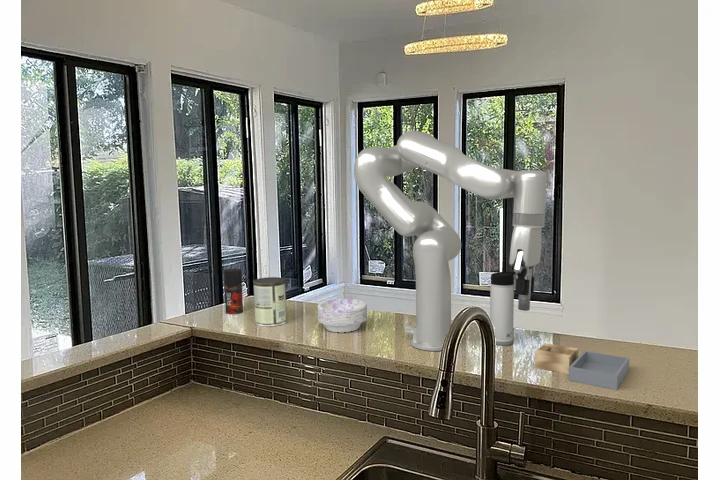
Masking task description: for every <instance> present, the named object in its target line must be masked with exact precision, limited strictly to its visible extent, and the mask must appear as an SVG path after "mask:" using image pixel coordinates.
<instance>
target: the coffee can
mask: <svg viewBox="0 0 720 480" xmlns="http://www.w3.org/2000/svg"><path fill="white" fill-rule="evenodd" d="M252 282H253V283H252V284H253V295H254V296H253V297H254V298H253V300H254V319H255V320H254V321H255V326H258V327H263V328H264V327H265V328H266V327H267V328H270V326H273V327H278V326H283V325H285V324H286V323H288V320H287V316H288V315H287V301H286V299H287V296H286V295H287V292H286V282H287V279H286V278H284V277H279V276H278V277H277V276H276V277H275V276H272V277H271V276H269V277H260V278H256V279H254V280H252Z"/></svg>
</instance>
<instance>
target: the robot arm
mask: <svg viewBox="0 0 720 480" xmlns="http://www.w3.org/2000/svg"><path fill="white" fill-rule="evenodd" d="M416 168H421V169H423V170H425V171H428V172H429V173H432V174H435V175H437V176H439V177H441V178H442V179H443V178H444V180H446V181H448V182H449V183H452V184H454V185H455V186H457V187H459V188H461V189H463V190H464V191H468V192H470V193H472V194H473V195H474V194H475V195H476V196H479V197H482V198H484V199H486V200H491V201H492V200H493V201H495V200H496V201H497V200H502V199H503V200H504V199H509V198H510V199H511V198H512V199H513V207H512V208H513V209H512V210H513V212H512V214H513V216H512V227H513V229H512V234H511V241H510V249H509V251H510V252H509V260H508V261H509V262H508V263H509V265H510V267H514V272H515V274H516V275H515V291H514V294H516V295H518V296H519V295H526V296H527V295H529V282H530V280H529V279H528V276H529V267H531V266H533V267H532V278H531V294H533V293H534V291H535V290H534V289H535V276H536V266H537V265H538V264H539V263H540V261H541V254H542V229H543V228H545V220H546V202H547V188H548V186H547V185H548V175H547V173H546V172H545V170H536V169H533V170H532V169H523V170H512V169H505V168H494V167H492V166H489V165H487V164H484V163H482V162H480V161H477V160H475V159H473V158H471V157H469V156H467V155H465V154H464V153H463V151H462V150H461V149H460V148H458V147H456V145H455V146H454V145H451V144H449V143H446V142H444V141H442V140H439V139H437V138H435V137H434V136H433V135H432V134H430V133H428V132H424V131H418V130H408V131H405V132H404V133H402V134H401V135H400V136H399V138H398V140H397V142H396V145H393V146H391V147H384V146H370V147H366V148H364V149H362V150H361V151H359V153H358V154H357V156H356V158H355V160H354V164H353V176H354V180H355V184H356V186H357V187H358V189H359V191H360V192H361V194H363V196H364V197H365V198H366V199H367V200H368V201H369V203H370V204H372V206H373V207H374V208H375V209H376V210H377V211H378V212H379V214H380V215H381V216H382V217H383V218H384V219H385V220H386V222H388V224H389V225H390V226H391V227H392V228H393V229H394V230H395V231H396V232H397V234H399V235H400V236H403V237H413V236H416V240H415V241H414V244H413V247H412V257H413V263H414V271H415V326H414V325H410V324H407V325H406V326H405V328H404V329H405V330H404V333H405V334H408V335H411V336H412V337H411V339H410V345H411V346H412V348H416V349H419V350H422V351H433V352H439V351H440V352H442V351H441V349H442V344H443V341H444V338H445V336H446V334H447V332H448V330H449V327H450V325H451V326H452V279H451V270H450V265H449V264H450V263H449V261H452V260H453V259H455V258H457V256H459V254H460V253H461V249H462V241H461V237H460V236H459V233H458V232H457V231H456V230H455V229H454V228H453V227H452V226H451V224H449V223H448V222H447V221H446V219H444V217H442V215H441V214H440V213H439V212H438V210H436V209H435V208H434V207H433V206H431V205H430V204H429V203H426V202H424V201H419V200H418V201H417V200H416V201H415V200H414V201H413V200H411V199H410V198H408V196H406V194H404V193H403V191H402V190H401V189H400V188H399V187H398V186H397V185H396V184H395V183H393V182H392V181H391V180H390V179H389V178H390V177H391V178H392V177H396V176H399V175H401V174H405V173H406V172H408V171H411V170H414V169H416ZM522 264H525V266H526V267H525V266H522ZM522 269H525V271H524V270H522Z"/></svg>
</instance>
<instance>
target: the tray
mask: <svg viewBox="0 0 720 480" xmlns="http://www.w3.org/2000/svg"><path fill="white" fill-rule="evenodd" d="M629 372H630V357H625V356H624V357H623V356H620V355H619V356H618V355H614V354H613V355H612V354H607V353H602V352H594V351H589V350H584V351H583V352H582V353H581V354H580V355H578V358H577V359H576V360H575V361H574V362H573V363H572V364H571V365H570V366H569V374H568V381H570V382H575V383H580V384H585V385H589V386H595V387H598V388H604V389H610V390H615V391H617V390H618V388H619V387H620V386H621V384H622V383H623V380H625V378H626V377H627V374H629Z"/></svg>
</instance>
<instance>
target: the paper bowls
mask: <svg viewBox="0 0 720 480" xmlns="http://www.w3.org/2000/svg"><path fill="white" fill-rule="evenodd" d="M316 306H317V321H318V323H319V324H323V325H324V327H325V329H326V330H327V331H329V332H332V333H337V332H339V334H341V333H344V332H346V333H352V332H354V331H357V330H358V329H359V328H360V327H361V325H362V323H364V322H366V321H367V319H368V305H367V302H365V301H363V300H361V299H356V298H355V299H354V298H336V299H335V298H334V299H328V300H324V301H321V302H320V303H318V305H316ZM351 331H352V332H351Z"/></svg>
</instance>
